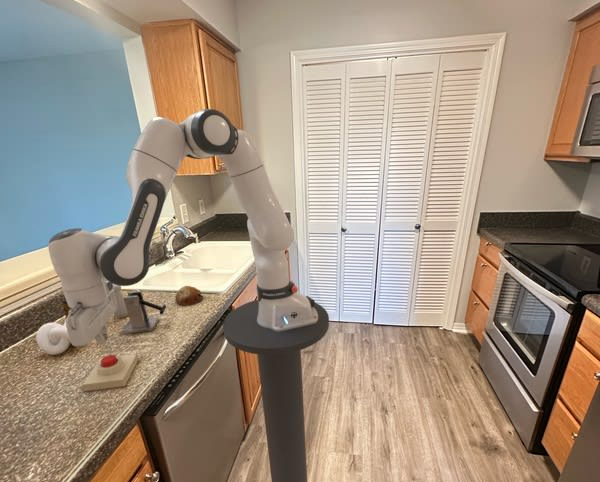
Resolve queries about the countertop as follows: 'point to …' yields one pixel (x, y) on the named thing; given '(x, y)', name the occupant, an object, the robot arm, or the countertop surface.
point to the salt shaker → (120, 303)
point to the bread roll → (188, 295)
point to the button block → (111, 373)
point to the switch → (151, 304)
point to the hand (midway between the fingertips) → (103, 341)
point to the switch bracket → (137, 315)
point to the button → (108, 361)
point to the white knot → (53, 338)
